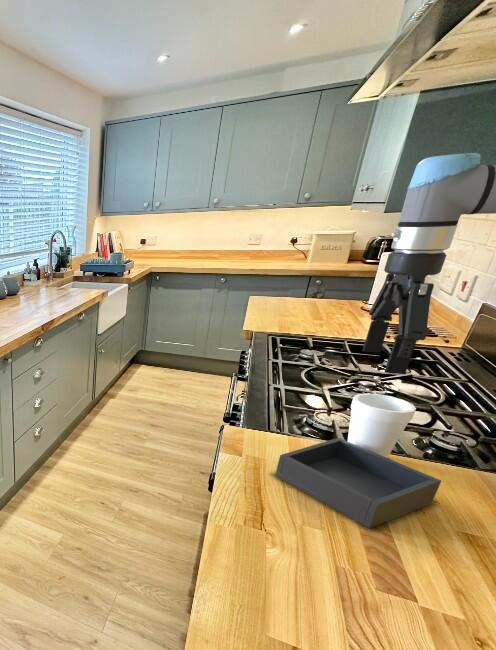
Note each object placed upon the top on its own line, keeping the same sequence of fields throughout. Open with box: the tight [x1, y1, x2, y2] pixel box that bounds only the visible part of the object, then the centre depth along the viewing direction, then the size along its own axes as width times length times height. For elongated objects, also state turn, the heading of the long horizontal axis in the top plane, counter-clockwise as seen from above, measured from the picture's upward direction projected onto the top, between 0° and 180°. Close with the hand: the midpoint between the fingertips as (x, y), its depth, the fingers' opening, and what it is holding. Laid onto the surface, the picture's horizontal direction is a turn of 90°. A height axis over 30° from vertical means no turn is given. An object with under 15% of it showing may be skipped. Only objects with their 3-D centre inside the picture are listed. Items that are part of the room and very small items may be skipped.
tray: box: [274, 437, 442, 529], centre depth 80 cm, size 17×17×5 cm
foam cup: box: [347, 392, 417, 458], centre depth 88 cm, size 10×9×13 cm
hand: (382, 361), depth 83 cm, fingers open, 13 cm apart
